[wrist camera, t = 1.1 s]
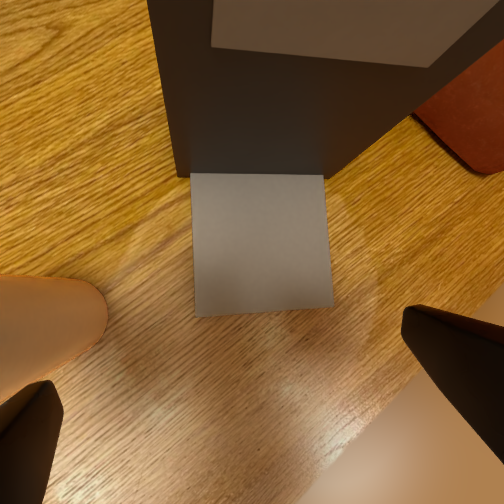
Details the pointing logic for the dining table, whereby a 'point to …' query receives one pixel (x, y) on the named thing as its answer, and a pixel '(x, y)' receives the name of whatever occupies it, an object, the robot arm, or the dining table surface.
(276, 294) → the coffee maker
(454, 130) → the bread
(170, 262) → the dining table surface
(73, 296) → the beige cylinder
